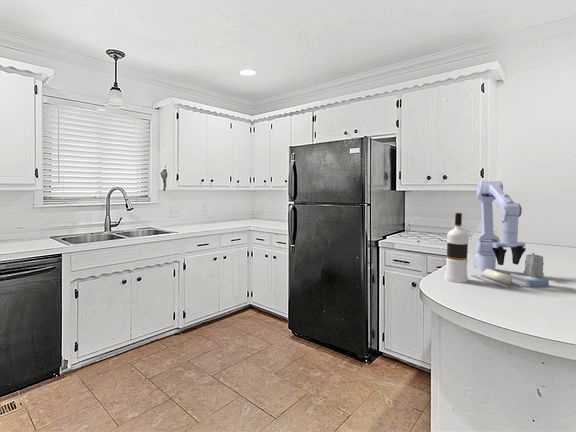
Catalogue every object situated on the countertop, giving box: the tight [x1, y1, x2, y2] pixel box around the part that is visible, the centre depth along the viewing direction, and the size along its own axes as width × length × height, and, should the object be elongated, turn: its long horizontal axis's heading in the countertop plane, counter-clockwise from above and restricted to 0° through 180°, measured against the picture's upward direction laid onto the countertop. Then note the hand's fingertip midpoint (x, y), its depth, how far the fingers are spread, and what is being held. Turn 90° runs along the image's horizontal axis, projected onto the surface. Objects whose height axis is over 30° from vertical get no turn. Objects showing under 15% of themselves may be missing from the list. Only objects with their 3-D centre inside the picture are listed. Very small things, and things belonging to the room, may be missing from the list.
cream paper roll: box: [482, 269, 513, 285], centre depth 148 cm, size 12×4×4 cm, turn 8°
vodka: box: [443, 212, 470, 284], centre depth 149 cm, size 9×9×30 cm
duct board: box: [471, 273, 553, 289], centre depth 149 cm, size 20×22×4 cm
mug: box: [523, 252, 545, 279], centre depth 158 cm, size 8×12×12 cm, turn 139°
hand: (508, 264), depth 146 cm, fingers open, 7 cm apart
